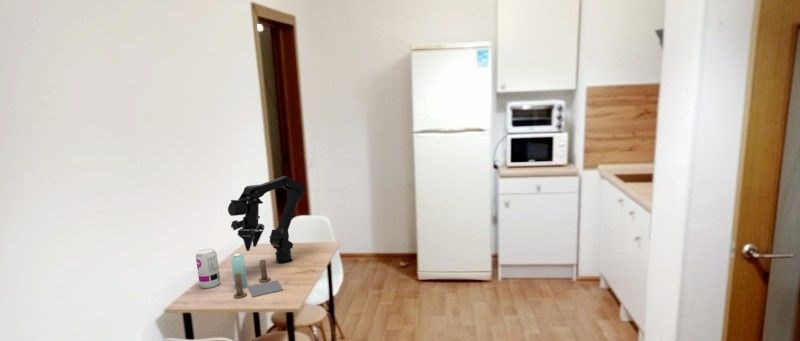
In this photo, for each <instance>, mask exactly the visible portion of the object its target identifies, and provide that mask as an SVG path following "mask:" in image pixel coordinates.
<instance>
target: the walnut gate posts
mask: <svg viewBox="0 0 800 341" xmlns="http://www.w3.org/2000/svg"><path fill="white" fill-rule="evenodd" d="M259 267H260V268H259V269H260V278H259V279H258V283H259V284H262V283H265V282H271V281H272V279H271V277H270V276H268V271H267V261H266V259H260V260H259ZM234 276H235V283H236V289H235V290H236V293H235V294H233V299H236V300H238V299H244V298H245V297H247V296H248V293H247V292H246V291H244V289H243V287H242V279H241V273H237V274H235V275H234Z"/></svg>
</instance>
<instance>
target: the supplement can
mask: <svg viewBox="0 0 800 341" xmlns="http://www.w3.org/2000/svg"><path fill="white" fill-rule="evenodd" d="M195 263H196V268H197V275H198V284H199V286H200V287H201V288H202V289H211V288H215V287H217V286H218V285H219V284H220V283H221V276H220V269H219V268H220V267H219V261H218V254H217V251H216V250H215V249H214V248H205V249H201V250H199V251H197V252H196V255H195Z"/></svg>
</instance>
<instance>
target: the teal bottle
mask: <svg viewBox="0 0 800 341" xmlns="http://www.w3.org/2000/svg"><path fill="white" fill-rule="evenodd" d="M230 261H231V267H232V276H233V283H234V285H233V286H234V290H236V283H235V276H234V275H235V274H237V273H241V279H242V287H243V290H244V289H246V288H248V280H247V271H246V265H245V264H246V262H245V256H244V255H243V254H240V253H239V252H238V253H234V256H231V257H230Z"/></svg>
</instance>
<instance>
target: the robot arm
mask: <svg viewBox="0 0 800 341" xmlns="http://www.w3.org/2000/svg"><path fill="white" fill-rule="evenodd" d="M282 187H283V189H285V190H286V202H285V206H284V208H283V212H282V214H281V217H280V220H279V224H278V226H277V228H276V229H272V230H271V233H270V236H269V237H268V238H269V243H270V245H271V246H272V247H273V249H275V253H274V254H275V261H276V262H277V263H278V265H279V264H284V263H290V262H293V259H292V252H291V251H292V250H291V249H293V247H294V243H293V242H292V241H290V240H289V238H290V235H289V234H290V233H289V229H290V225H291V222H292V218H293V216H294V213H295V210H296V208H297V205H298V202H299V201H300V200H301V199H302V198H303V196H304V194H305V192H306V187H305V185H304V184H303V183H300V182H298V181H296V180H294V179H292V178H290V177H289V176H285V175H283V176H279V177H278V178H274V179H272V180H270V181H266V182H263V183H261V184H254V185H253V184H252V185H247V186H245V187H244V189H243V192H242V193H241V195H240V196H239V198H237V199H231V200H230V203H229V205H228V207H227V211H228V214H229V215H230V216H232V217H234V216H243V217H242V219H241V220H239V221H238V219H236V220H233V221H232V222H231V224H230V227H231V228H232V230H233V231H237V236H238V237H239V238H241V239H242V240H243V242H244V243H243V244H244V246H245V249H246V251H247V252H249V251H250V249H251V247H252V246H253V248H255V247H257V245H258V244H259V241H260V239H261V236H262V235H263V232H264V230H265V225H264V224H263V223H259V219H260V215H259V209H260V207H259V205H261V204H263V203H264V201H262V200H261V198H262V197H263V196H264V195H265V194H266V193H268V192H270V191H273V190H277V189H279V188H282Z"/></svg>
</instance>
